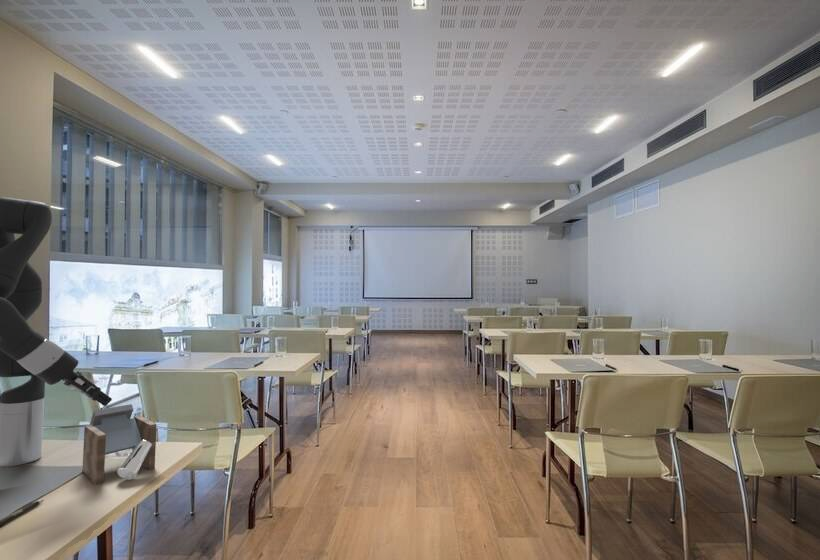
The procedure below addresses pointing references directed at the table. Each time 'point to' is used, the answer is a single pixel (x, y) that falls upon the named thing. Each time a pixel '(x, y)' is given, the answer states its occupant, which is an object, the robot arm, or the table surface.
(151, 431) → the stand
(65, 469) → the table surface
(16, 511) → the table surface
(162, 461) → the table surface
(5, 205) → the robot arm
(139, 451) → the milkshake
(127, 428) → the trapdoor
